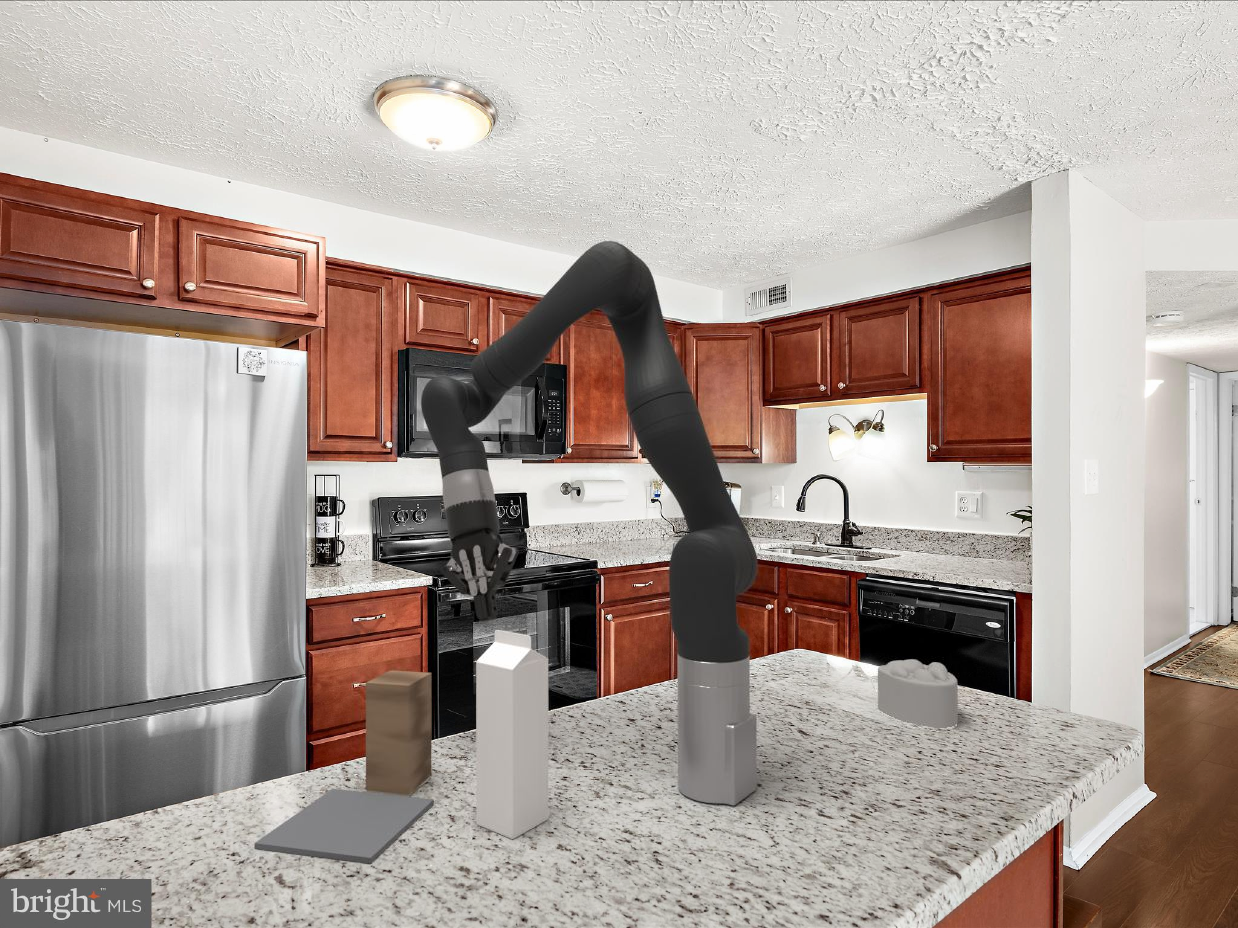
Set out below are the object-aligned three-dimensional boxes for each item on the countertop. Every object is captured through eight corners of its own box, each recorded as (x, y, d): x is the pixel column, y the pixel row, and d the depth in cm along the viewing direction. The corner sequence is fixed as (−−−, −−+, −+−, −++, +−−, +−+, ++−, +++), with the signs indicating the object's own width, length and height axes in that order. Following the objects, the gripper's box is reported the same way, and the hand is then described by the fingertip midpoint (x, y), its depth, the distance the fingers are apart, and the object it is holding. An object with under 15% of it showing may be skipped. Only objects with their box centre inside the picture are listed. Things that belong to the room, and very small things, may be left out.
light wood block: (390, 774, 99) (390, 670, 99) (431, 778, 97) (431, 672, 98) (365, 793, 93) (365, 682, 93) (408, 797, 92) (408, 685, 92)
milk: (512, 806, 89) (512, 624, 90) (549, 820, 86) (549, 630, 86) (474, 825, 84) (475, 633, 85) (512, 840, 81) (512, 640, 81)
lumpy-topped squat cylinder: (920, 702, 129) (919, 653, 129) (975, 726, 117) (975, 672, 117) (869, 708, 126) (869, 657, 126) (921, 733, 114) (920, 677, 114)
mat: (332, 793, 93) (332, 788, 93) (433, 803, 90) (433, 799, 90) (254, 848, 79) (254, 842, 79) (370, 863, 76) (370, 857, 76)
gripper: (520, 495, 110) (540, 610, 106) (450, 518, 115) (466, 628, 111) (492, 489, 103) (512, 611, 99) (418, 513, 108) (434, 631, 104)
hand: (488, 620), depth 105 cm, fingers closed
